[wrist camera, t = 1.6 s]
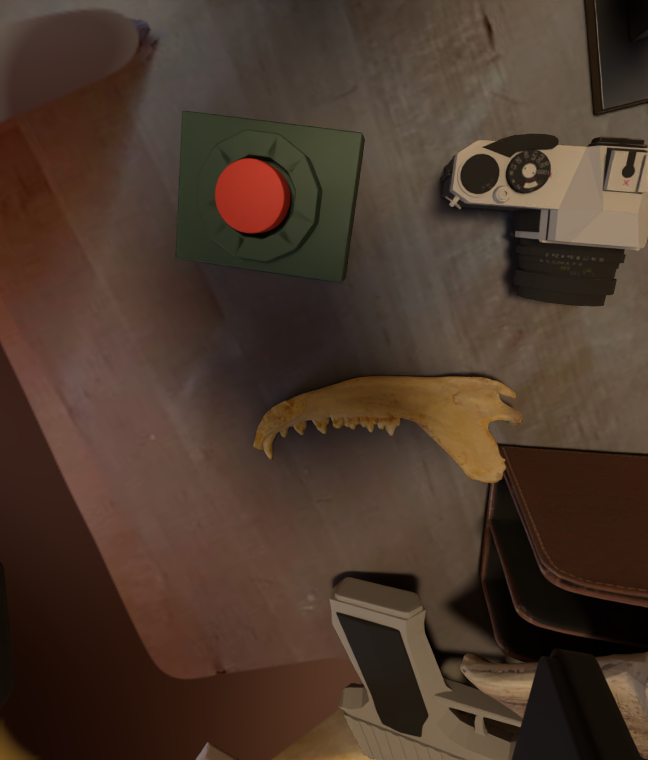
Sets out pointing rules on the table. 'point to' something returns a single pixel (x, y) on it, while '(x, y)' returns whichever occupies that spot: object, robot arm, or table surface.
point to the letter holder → (567, 553)
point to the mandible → (406, 414)
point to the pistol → (408, 684)
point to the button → (252, 196)
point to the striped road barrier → (213, 753)
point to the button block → (306, 184)
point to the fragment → (622, 671)
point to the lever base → (618, 52)
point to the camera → (559, 208)
